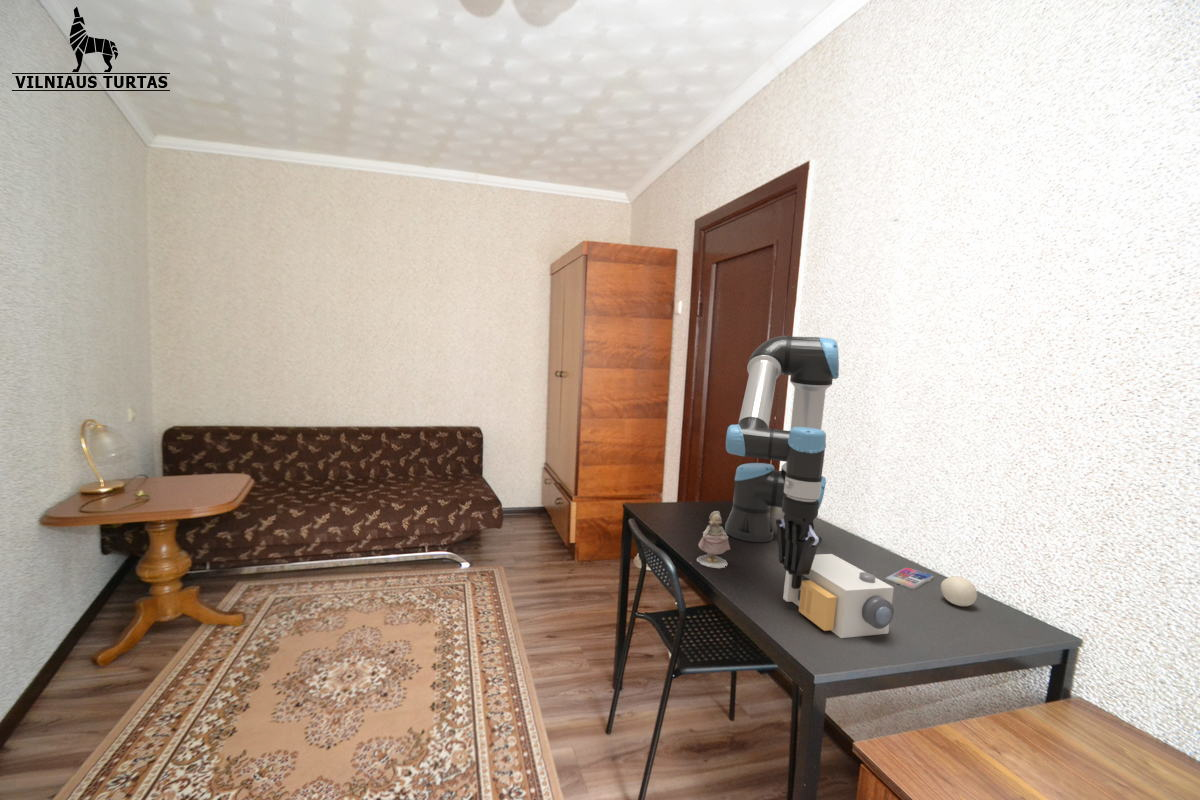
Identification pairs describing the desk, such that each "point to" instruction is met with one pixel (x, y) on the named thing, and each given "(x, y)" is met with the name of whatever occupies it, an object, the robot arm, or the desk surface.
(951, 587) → the cream round ball
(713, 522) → the figurine
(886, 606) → the block
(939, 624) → the desk surface
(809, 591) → the side door
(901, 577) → the smartphone
